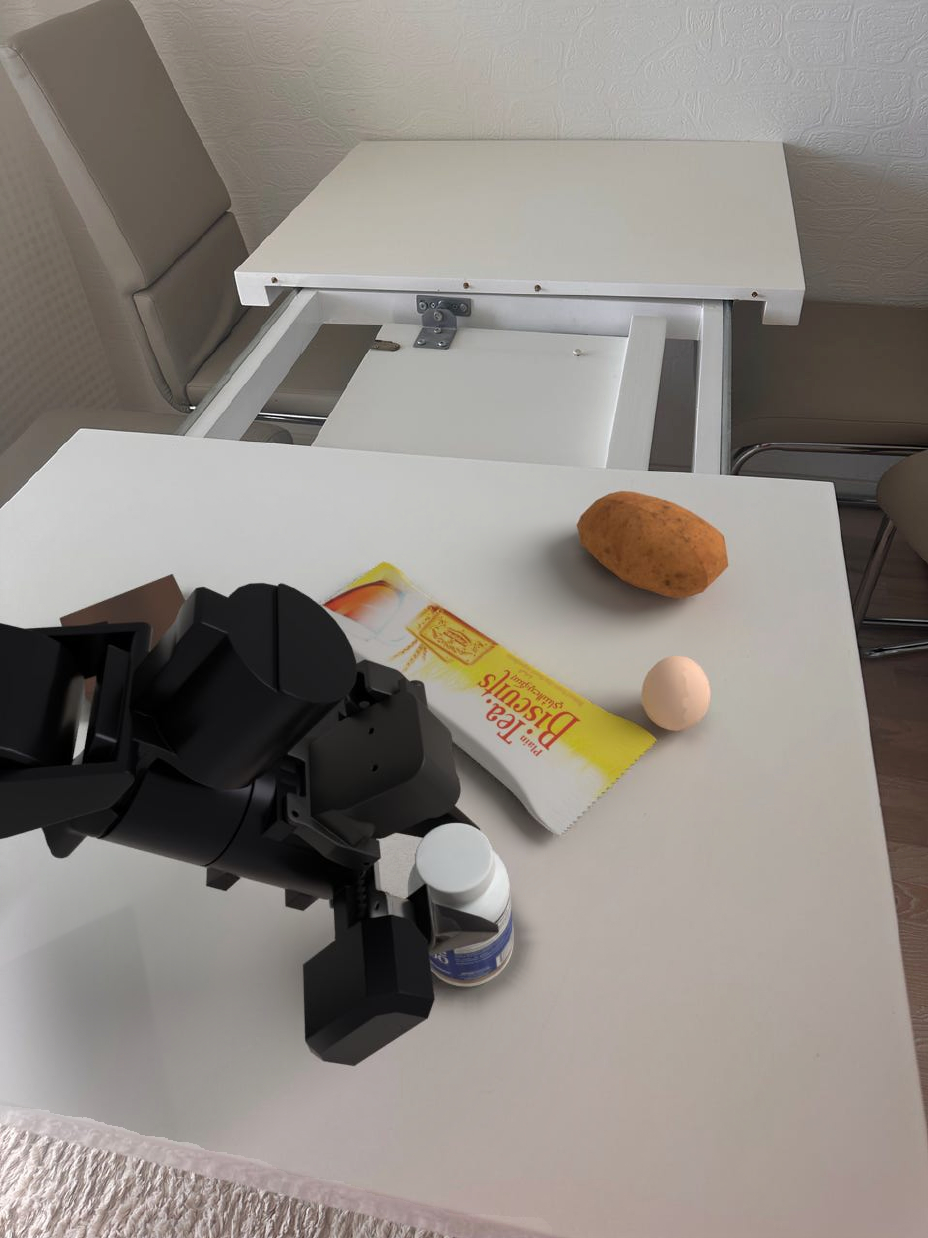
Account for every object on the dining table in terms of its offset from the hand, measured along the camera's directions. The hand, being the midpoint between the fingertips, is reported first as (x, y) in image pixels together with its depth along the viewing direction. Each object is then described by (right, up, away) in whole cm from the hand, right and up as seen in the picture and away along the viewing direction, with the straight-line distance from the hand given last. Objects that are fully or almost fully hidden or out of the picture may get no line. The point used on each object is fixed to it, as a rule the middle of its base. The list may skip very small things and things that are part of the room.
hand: (484, 883), depth 50 cm
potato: (+13, +18, +25) cm, 34 cm away
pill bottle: (-1, -5, +5) cm, 7 cm away
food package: (-1, +9, +18) cm, 20 cm away
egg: (+13, +7, +15) cm, 21 cm away
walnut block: (-26, +11, +23) cm, 36 cm away
